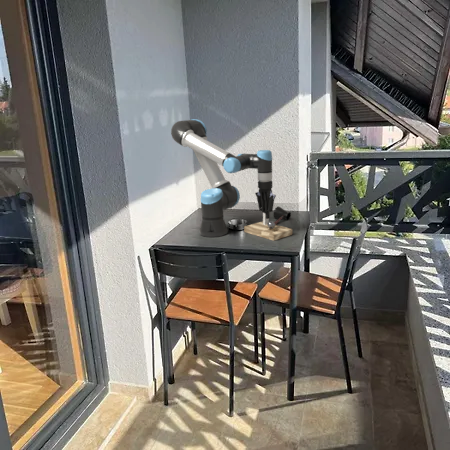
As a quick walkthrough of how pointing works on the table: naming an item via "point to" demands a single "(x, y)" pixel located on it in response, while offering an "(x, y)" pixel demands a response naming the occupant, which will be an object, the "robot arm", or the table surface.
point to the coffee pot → (281, 214)
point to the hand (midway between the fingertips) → (266, 224)
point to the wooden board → (268, 231)
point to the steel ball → (271, 224)
